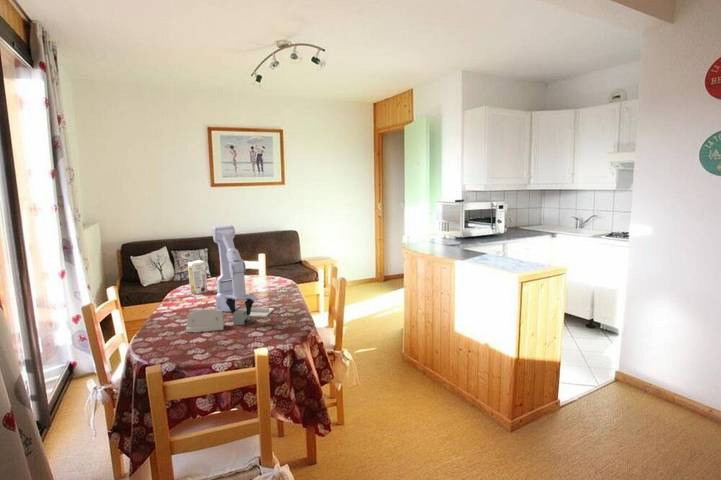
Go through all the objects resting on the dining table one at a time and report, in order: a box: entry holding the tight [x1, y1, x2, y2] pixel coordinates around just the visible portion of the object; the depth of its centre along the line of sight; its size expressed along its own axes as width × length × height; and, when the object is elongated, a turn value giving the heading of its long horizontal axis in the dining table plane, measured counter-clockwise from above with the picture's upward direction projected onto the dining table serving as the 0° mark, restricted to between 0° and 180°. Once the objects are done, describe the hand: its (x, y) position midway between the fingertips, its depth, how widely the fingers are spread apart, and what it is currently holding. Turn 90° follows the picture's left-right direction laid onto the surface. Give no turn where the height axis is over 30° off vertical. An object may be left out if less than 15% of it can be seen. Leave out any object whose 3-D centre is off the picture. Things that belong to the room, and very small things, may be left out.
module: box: [231, 307, 251, 326], centre depth 193 cm, size 5×7×6 cm
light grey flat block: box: [185, 308, 226, 333], centre depth 186 cm, size 17×5×10 cm, turn 101°
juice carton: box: [187, 259, 208, 295], centre depth 244 cm, size 8×9×19 cm
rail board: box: [244, 307, 275, 318], centre depth 206 cm, size 14×11×2 cm
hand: (241, 314), depth 193 cm, fingers open, 7 cm apart
